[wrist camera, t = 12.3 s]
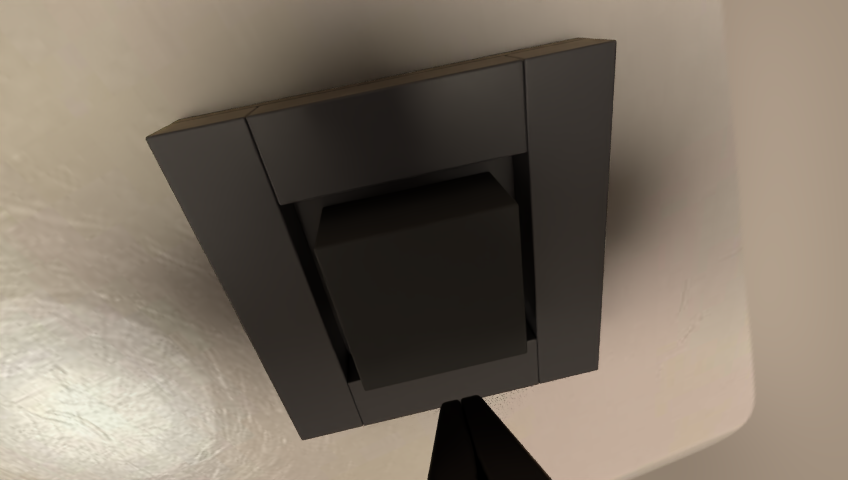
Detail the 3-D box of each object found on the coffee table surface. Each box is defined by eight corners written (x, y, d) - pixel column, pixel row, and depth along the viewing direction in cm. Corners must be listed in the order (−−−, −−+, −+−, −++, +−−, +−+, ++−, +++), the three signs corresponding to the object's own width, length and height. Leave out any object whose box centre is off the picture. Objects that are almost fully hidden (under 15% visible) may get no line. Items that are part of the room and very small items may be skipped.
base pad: (578, 37, 12) (617, 39, 10) (574, 335, 18) (598, 370, 16) (177, 119, 12) (143, 137, 10) (307, 398, 18) (301, 441, 16)
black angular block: (490, 170, 13) (519, 203, 11) (502, 303, 16) (528, 354, 13) (321, 206, 13) (312, 249, 10) (363, 335, 16) (364, 392, 13)
